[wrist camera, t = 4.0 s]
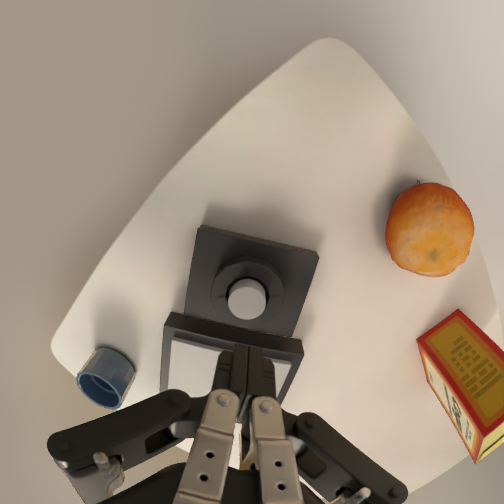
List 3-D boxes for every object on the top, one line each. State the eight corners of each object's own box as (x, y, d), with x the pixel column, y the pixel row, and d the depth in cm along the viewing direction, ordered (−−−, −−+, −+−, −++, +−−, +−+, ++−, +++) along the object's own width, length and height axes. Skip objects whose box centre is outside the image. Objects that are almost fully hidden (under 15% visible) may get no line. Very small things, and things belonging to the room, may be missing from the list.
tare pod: (187, 306, 25) (179, 323, 22) (201, 224, 23) (193, 233, 20) (290, 329, 26) (293, 347, 23) (316, 251, 23) (324, 263, 20)
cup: (97, 372, 29) (80, 397, 24) (92, 339, 27) (72, 364, 22) (137, 387, 29) (123, 415, 24) (136, 354, 27) (119, 383, 23)
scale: (164, 391, 29) (158, 408, 26) (170, 311, 25) (161, 328, 23) (269, 413, 30) (269, 431, 27) (301, 339, 26) (305, 358, 23)
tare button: (226, 305, 22) (224, 315, 21) (233, 274, 21) (232, 282, 20) (260, 313, 22) (260, 323, 21) (269, 282, 21) (270, 291, 20)
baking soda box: (416, 339, 26) (485, 440, 11) (458, 308, 25) (539, 390, 10) (427, 381, 29) (476, 466, 13) (463, 355, 27) (521, 430, 12)
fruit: (470, 204, 20) (496, 260, 14) (414, 245, 26) (422, 305, 20) (423, 143, 19) (449, 187, 13) (365, 197, 24) (364, 252, 19)
